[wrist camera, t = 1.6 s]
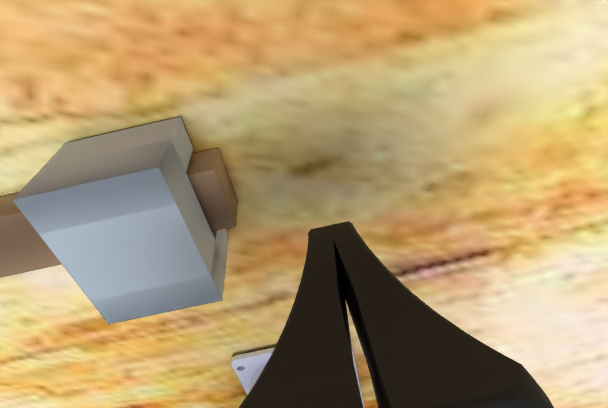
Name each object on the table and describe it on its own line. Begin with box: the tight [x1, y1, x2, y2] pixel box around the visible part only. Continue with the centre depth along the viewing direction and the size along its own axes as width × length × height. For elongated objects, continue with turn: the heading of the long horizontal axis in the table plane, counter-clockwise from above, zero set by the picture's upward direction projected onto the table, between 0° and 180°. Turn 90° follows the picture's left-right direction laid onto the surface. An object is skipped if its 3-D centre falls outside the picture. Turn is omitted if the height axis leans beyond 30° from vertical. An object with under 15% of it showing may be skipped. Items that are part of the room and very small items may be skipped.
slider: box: [13, 117, 229, 324], centre depth 16 cm, size 7×5×4 cm
